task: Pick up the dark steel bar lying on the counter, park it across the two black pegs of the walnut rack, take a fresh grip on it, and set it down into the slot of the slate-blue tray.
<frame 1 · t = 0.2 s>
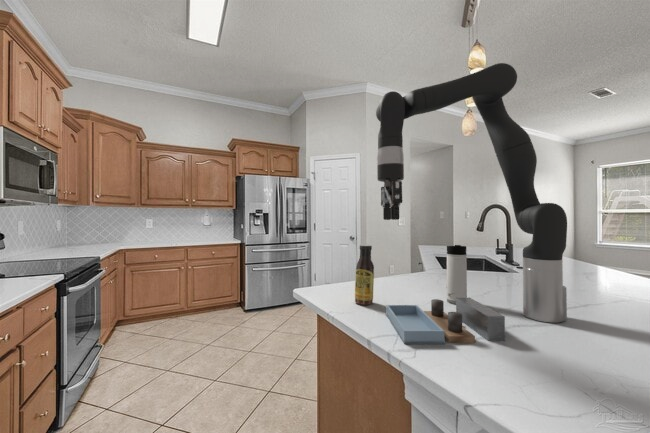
hand: (390, 219, 82), 29 cm above the counter, tool pointing down, fingers open, 8 cm apart
steel bar: (478, 328, 74), on the counter
travel mug: (456, 303, 97), on the counter
sauce bottle: (364, 303, 97), on the counter
peg rack: (445, 327, 74), on the counter
slot tray: (411, 327, 74), on the counter
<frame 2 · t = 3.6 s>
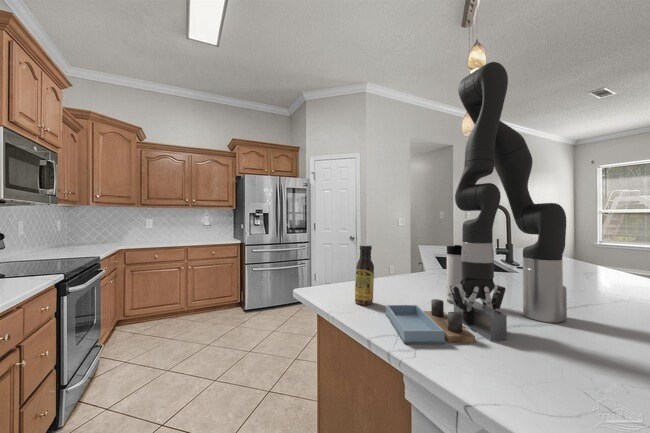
hand: (477, 324, 74), 1 cm above the counter, tool pointing down, fingers closed on steel bar, 4 cm apart
steel bar: (477, 328, 74), on the counter, touching gripper
everything else where it was.
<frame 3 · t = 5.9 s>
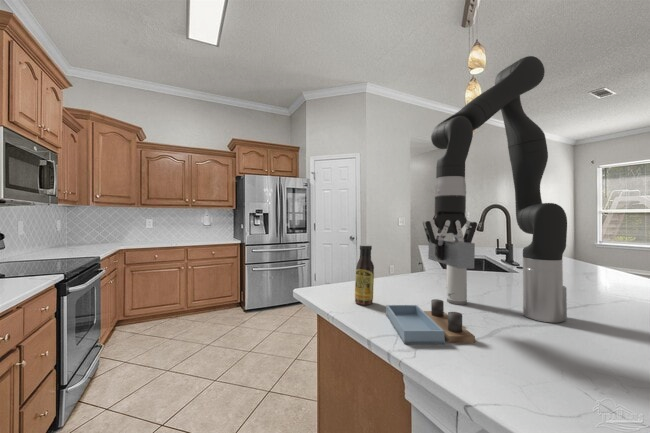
hand: (448, 259, 75), 18 cm above the counter, tool pointing down, fingers closed on steel bar, 4 cm apart
steel bar: (448, 263, 75), point 17 cm above the counter, touching gripper
everything else where it was.
when the fingers open (7 cm above the counter, at t = 8.3 s): steel bar stays where it is, resting on peg rack.
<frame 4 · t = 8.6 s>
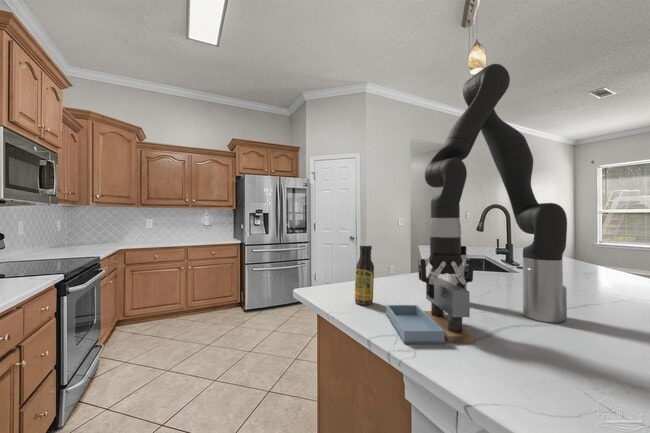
hand: (445, 297, 75), 8 cm above the counter, tool pointing down, fingers open, 7 cm apart
steel bar: (445, 306, 75), point 5 cm above the counter, touching peg rack
everything else where it was.
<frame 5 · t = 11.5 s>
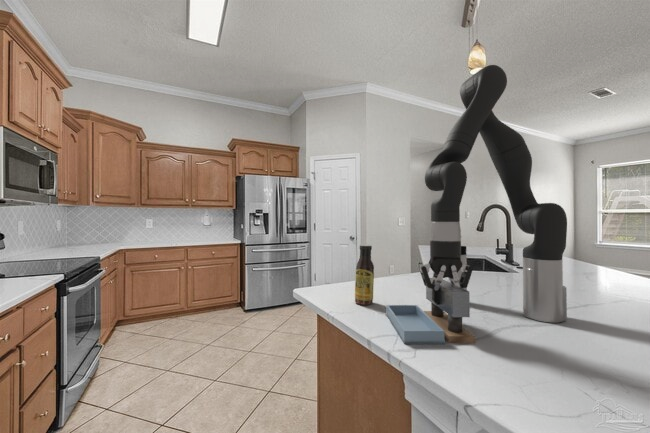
hand: (445, 303, 75), 6 cm above the counter, tool pointing down, fingers closed on steel bar, 4 cm apart
steel bar: (445, 306, 75), point 6 cm above the counter, touching gripper, peg rack
everything else where it was.
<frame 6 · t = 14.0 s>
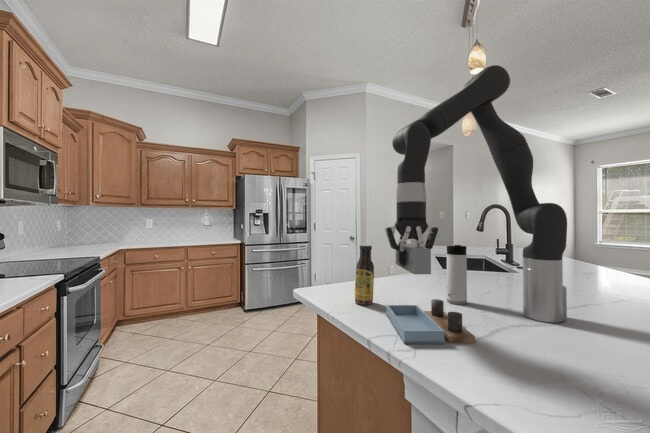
hand: (411, 265, 75), 16 cm above the counter, tool pointing down, fingers closed on steel bar, 4 cm apart
steel bar: (411, 268, 75), point 16 cm above the counter, touching gripper
everything else where it was.
when the fingers open (3 cm above the counter, at t = 16.6 s): steel bar drops 2 cm, resting on slot tray.
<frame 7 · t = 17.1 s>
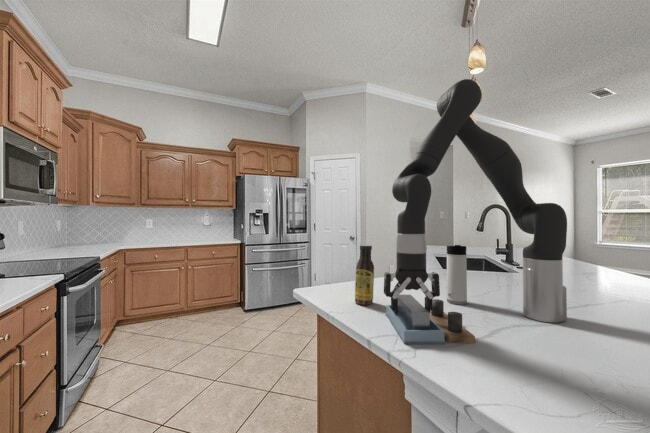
hand: (411, 312, 75), 4 cm above the counter, tool pointing down, fingers open, 8 cm apart
steel bar: (411, 325, 75), point 1 cm above the counter, touching slot tray
everything else where it was.
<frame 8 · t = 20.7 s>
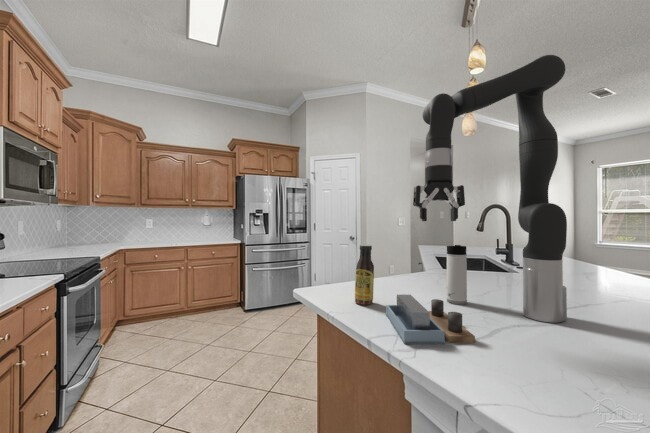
hand: (438, 221, 83), 28 cm above the counter, tool pointing down, fingers open, 8 cm apart
nothing on the counter moved.
at the end: steel bar 0.0 cm off-centre on the slot tray, point 0.6 cm above the slot tray's base; the gripper is holding nothing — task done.
